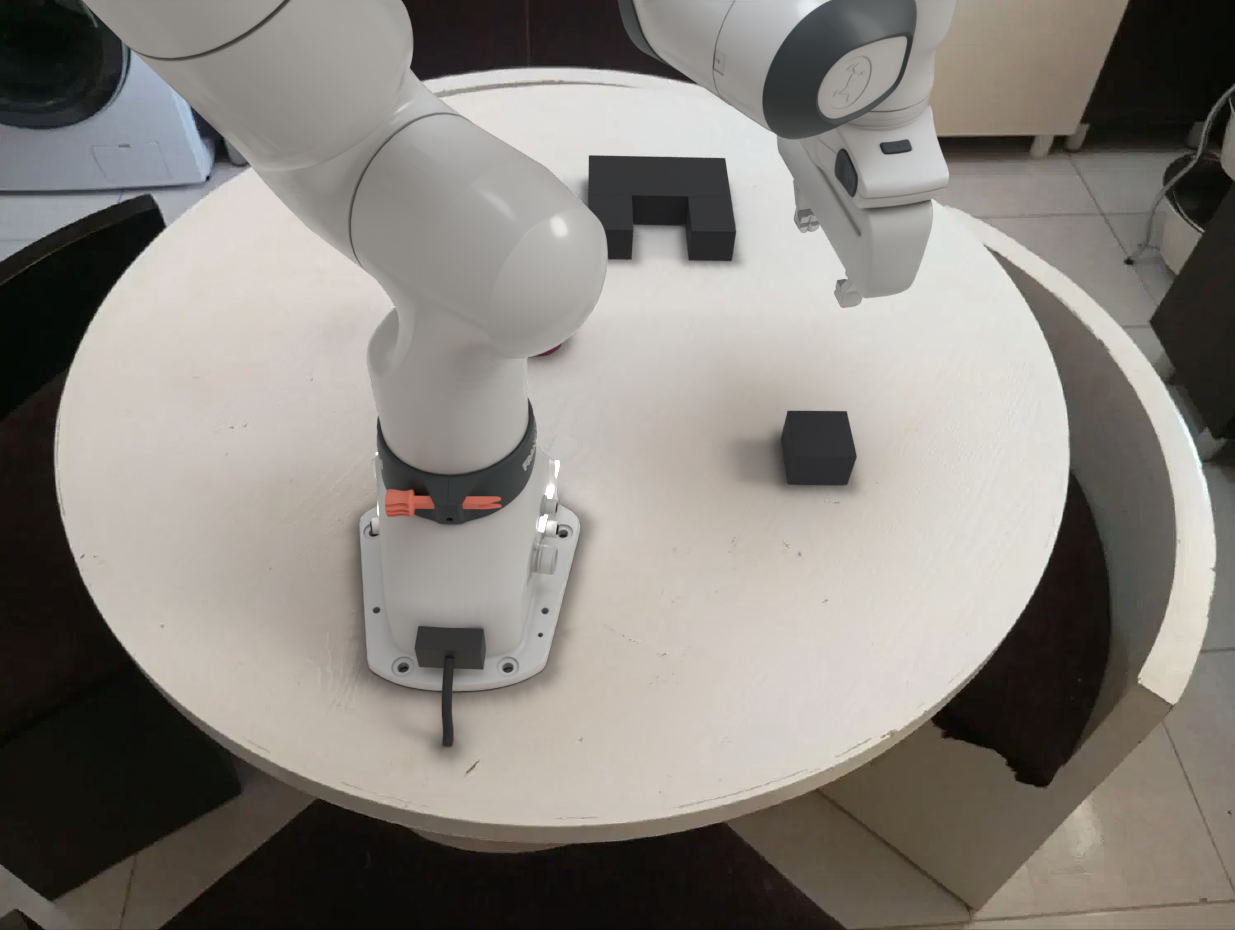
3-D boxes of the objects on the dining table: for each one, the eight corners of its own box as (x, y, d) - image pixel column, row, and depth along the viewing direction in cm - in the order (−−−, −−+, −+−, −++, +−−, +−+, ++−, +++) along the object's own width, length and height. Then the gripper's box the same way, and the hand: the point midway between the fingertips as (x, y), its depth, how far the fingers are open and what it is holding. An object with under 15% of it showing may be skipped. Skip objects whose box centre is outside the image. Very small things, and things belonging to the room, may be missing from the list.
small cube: (847, 484, 90) (857, 456, 87) (787, 484, 90) (795, 456, 87) (838, 439, 94) (847, 410, 91) (780, 438, 94) (787, 410, 90)
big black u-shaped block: (731, 261, 110) (736, 231, 107) (587, 258, 110) (588, 229, 107) (721, 186, 119) (725, 157, 116) (588, 184, 119) (588, 155, 116)
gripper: (770, 43, 77) (749, 191, 88) (873, 205, 65) (833, 354, 76) (847, 34, 78) (816, 182, 89) (962, 192, 66) (910, 341, 76)
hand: (825, 263), depth 82 cm, fingers open, 8 cm apart
